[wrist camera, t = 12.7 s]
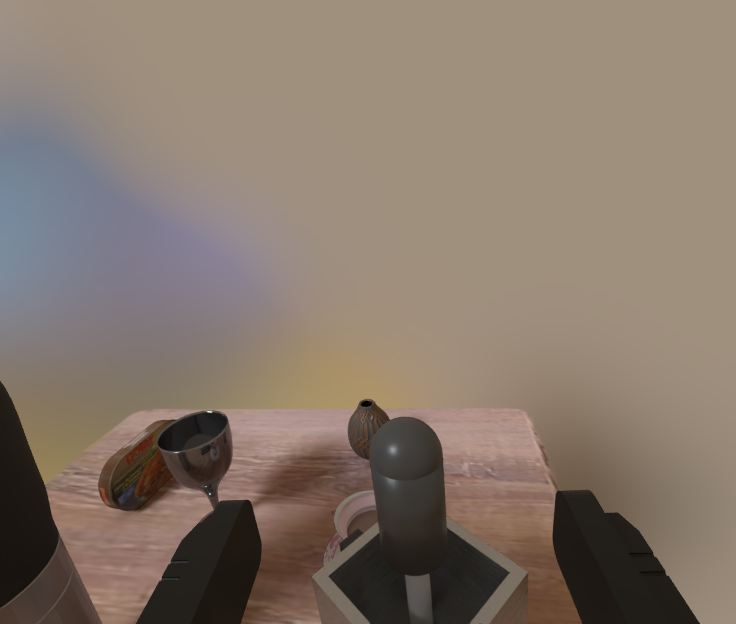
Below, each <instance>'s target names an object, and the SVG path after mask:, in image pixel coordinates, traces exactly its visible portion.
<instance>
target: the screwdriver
mask: <svg viewBox="0 0 736 624" xmlns="http://www.w3.org/2000/svg"><path fill="white" fill-rule="evenodd" d="M370 465H371V472H372V480H373V488H374V495H375V503H376V511H377V518H378V526H379V534H380V541H381V549H382V554H383V557H384V559H385V561H386V562H387V563H388V565H389V566H390V567H391V568H393V569H394V570H395V571H397V572H399V573H401V574H404V575H405V580H406V589H407V599H408V608H409V617H410V624H433V613H432V600H431V588H430V575H429V573H431V572H433V571H435V570H436V569H438V568H439V567H440V566H441V565H442V563H443V562H444V560H445V559H446V556H447V552H448V539H447V521H446V504H445V487H444V469H443V453H442V447H441V443H440V441H439V439H438V437H437V435H436V433H435V432H434V431H433V430H432V429H431V428H430V427H429V426H428V425H427V424H426V423H424V422H423V421H421V420H418V419H416V418H412V417H398V418H394V419H392V420H389V421H388V422H386V423H385V424H383V425H382V426H381V427H380V428H379V429H378V430H377V432H376V433H375V435H374V437H373V439H372V442H371V445H370Z"/></svg>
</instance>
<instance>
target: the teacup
mask: <svg viewBox="0 0 736 624" xmlns="http://www.w3.org/2000/svg"><path fill="white" fill-rule="evenodd" d="M332 514H334V525H335V528H336V531H337V532H336V533H335V535H334V536H333V537H332V539H331V540H330V541H329V543H328V546H327V548H326V551H325V554H324V563H323V567H324V566H325V565H326V564H327V563H328V562H330V561H331V560H332V559H333V558H335V557H336V556H337V555H338V554H339V553H341V551H340V546H339V543H341V542H342V541H343V540H344V539H345V538H347V537H348V536H349V535H350V534H352V533H353V532H354V531H355V530H357V529H360V530H361V531H362V532H363V533H365V532H366V531H367V530H368V529H370V528H371V527H372V526H373V525H374V524H376V523H377V522H378V518H377V511H376V503H375V495H374V490H368V491H361V492H358V493H355V494H353V495H351V496H349V497H347V498H346V499H344V500H343V501H342V502H341V503H340V504H339V506H338V507H337V509H336V510H335V511H332Z"/></svg>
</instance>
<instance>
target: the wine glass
mask: <svg viewBox="0 0 736 624" xmlns="http://www.w3.org/2000/svg"><path fill="white" fill-rule="evenodd" d="M157 445H158V449H159V452H160V454H161V457H162V459H163V462H164V464H165V466H166V467H167V469H168V471H169V473H170V474H171V475H172V477H173V478H174V479H175V480H176V481H177V482H178V483H179V484H180V485H182V486H184V487H187V488H190V489H194V490H199V491H201V492H203V493H205V494H206V495H207V497H208V499H209V500H210V503H211V505H212V507H213V509H215V507H216V506H217V504H218V503H219V500H218V486H219V484H220V482H221V480H222V479H223V477H224V476H225V474H226V473H227V471H228V469H229V467H230V465H231V462H232V457H233V444H232V434H231V429H230V425H229V421H228V418H227V416H226V415H225V414H224V413H222V412H219V411H210V410H208V411H200V412H196V413H192V414H189V415H186V416H184V417H181V418H179V419H177V420H176V421H174V422H172V423H171V424H169V425H168V426H167V427H166V428H164V429H163V430H162V432H161V433H160V434H159V436H158V438H157ZM213 511H214V510H213ZM213 511H211V512H210V513H208V514H207V515H206V516H205V517H203V518H202V519H201V521H200V522H199V523H207V522H208V521H209V519H210V517H211V515H212V513H213Z"/></svg>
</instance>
